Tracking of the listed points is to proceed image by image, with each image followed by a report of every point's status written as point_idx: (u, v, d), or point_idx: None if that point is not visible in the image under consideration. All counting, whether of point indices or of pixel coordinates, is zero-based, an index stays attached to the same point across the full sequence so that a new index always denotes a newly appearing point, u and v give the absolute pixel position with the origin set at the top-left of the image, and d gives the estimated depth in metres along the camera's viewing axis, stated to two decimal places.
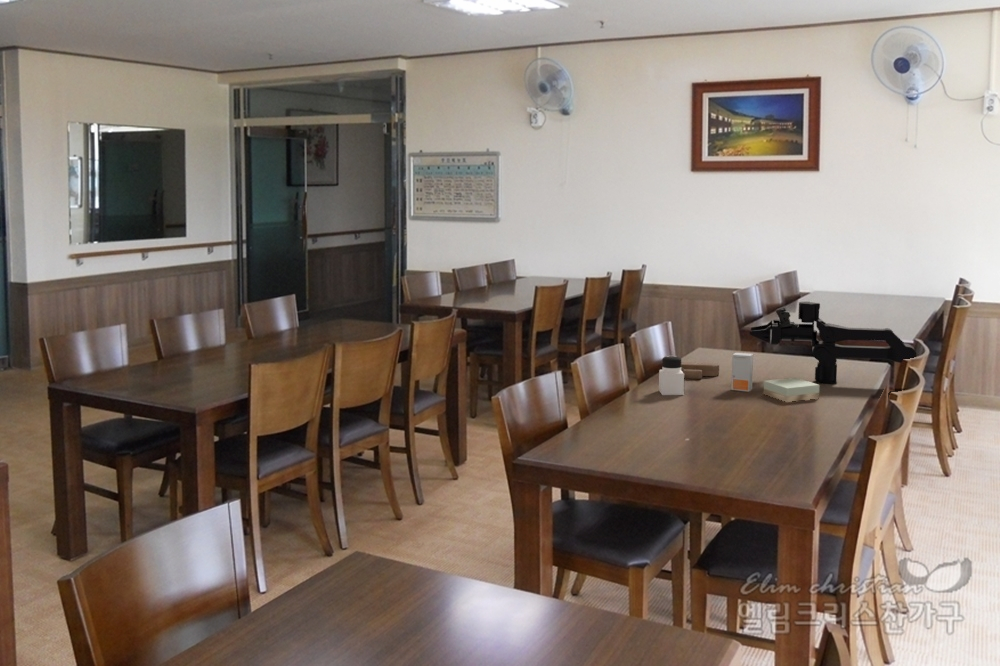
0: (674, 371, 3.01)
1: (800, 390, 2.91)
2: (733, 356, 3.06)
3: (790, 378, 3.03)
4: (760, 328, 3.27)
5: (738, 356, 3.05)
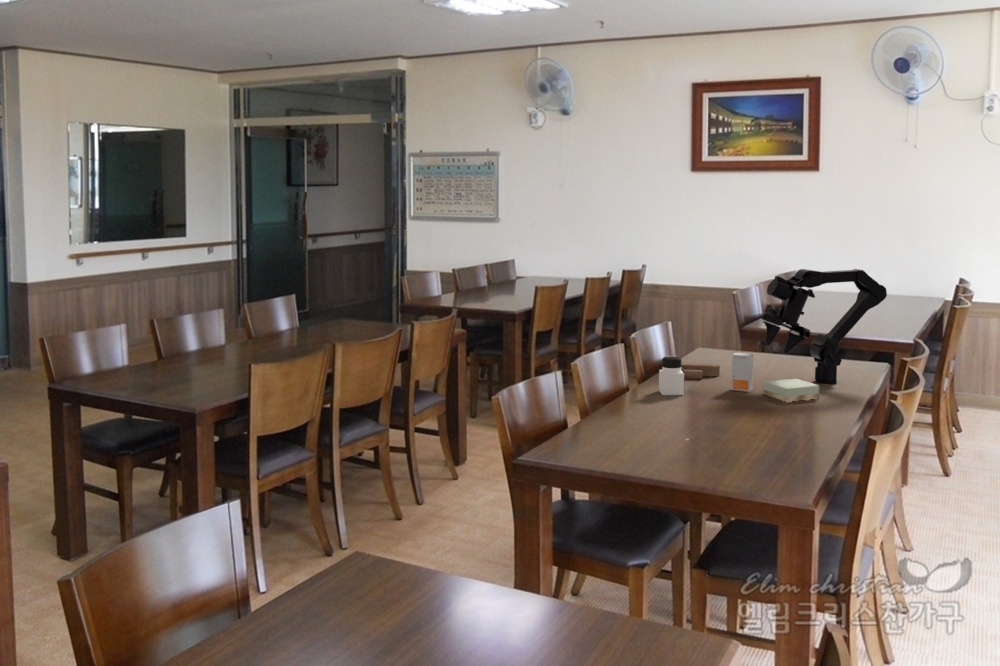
0: (674, 371, 3.01)
1: (799, 390, 2.91)
2: (733, 356, 3.06)
3: (790, 379, 3.03)
4: (788, 343, 3.16)
5: (738, 356, 3.05)
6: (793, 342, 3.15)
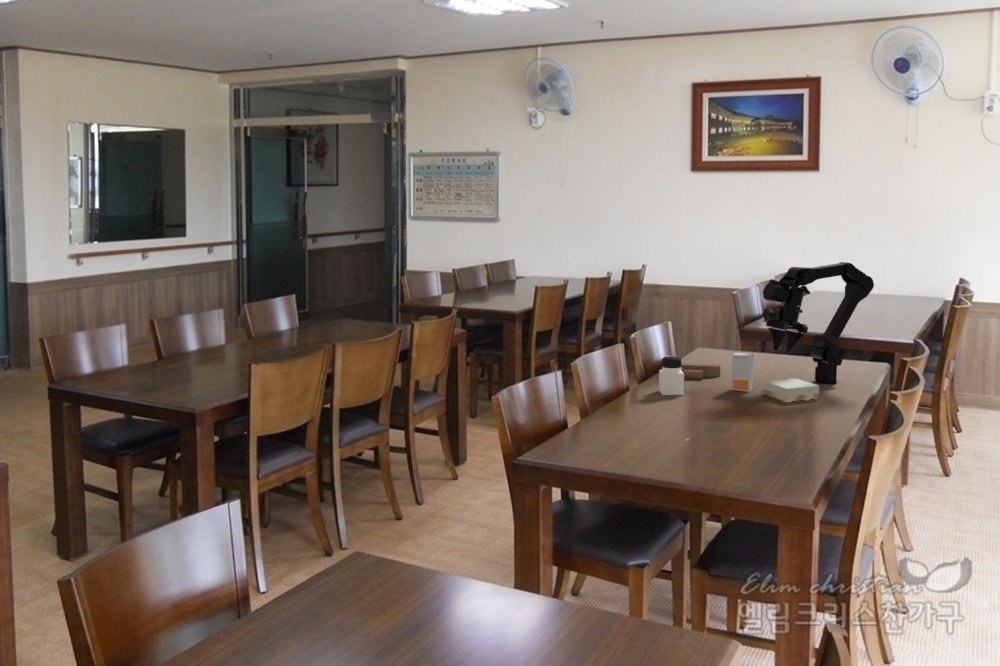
0: (674, 371, 3.01)
1: (799, 390, 2.91)
2: (733, 356, 3.06)
3: (791, 378, 3.03)
4: (789, 342, 3.14)
5: (738, 356, 3.05)
6: (795, 340, 3.13)
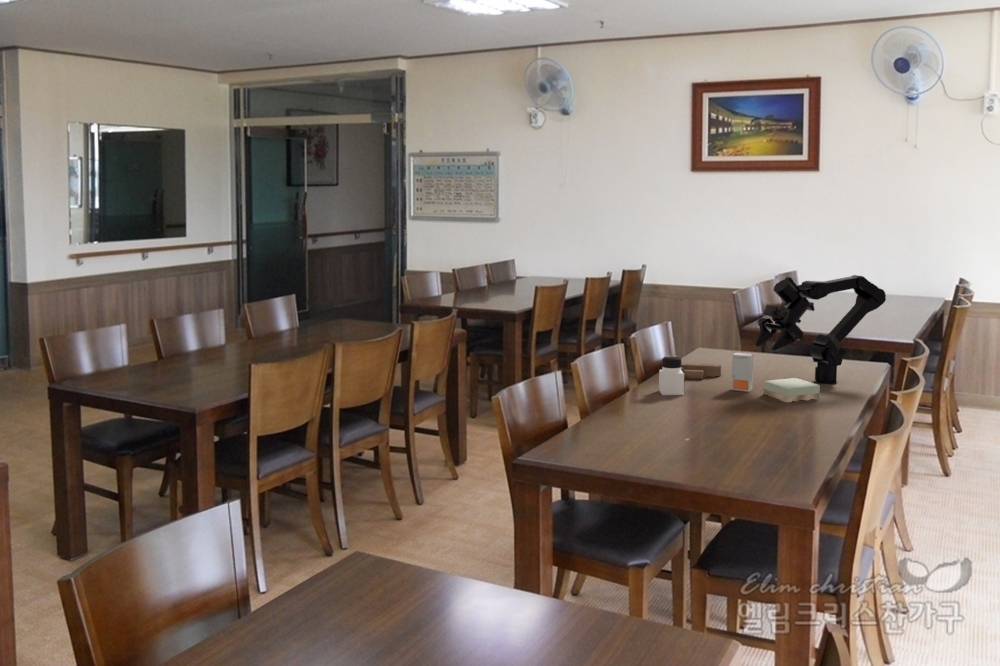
0: (674, 371, 3.01)
1: (800, 390, 2.91)
2: (733, 356, 3.06)
3: (790, 378, 3.03)
4: (761, 338, 3.13)
5: (738, 356, 3.05)
6: (766, 338, 3.14)
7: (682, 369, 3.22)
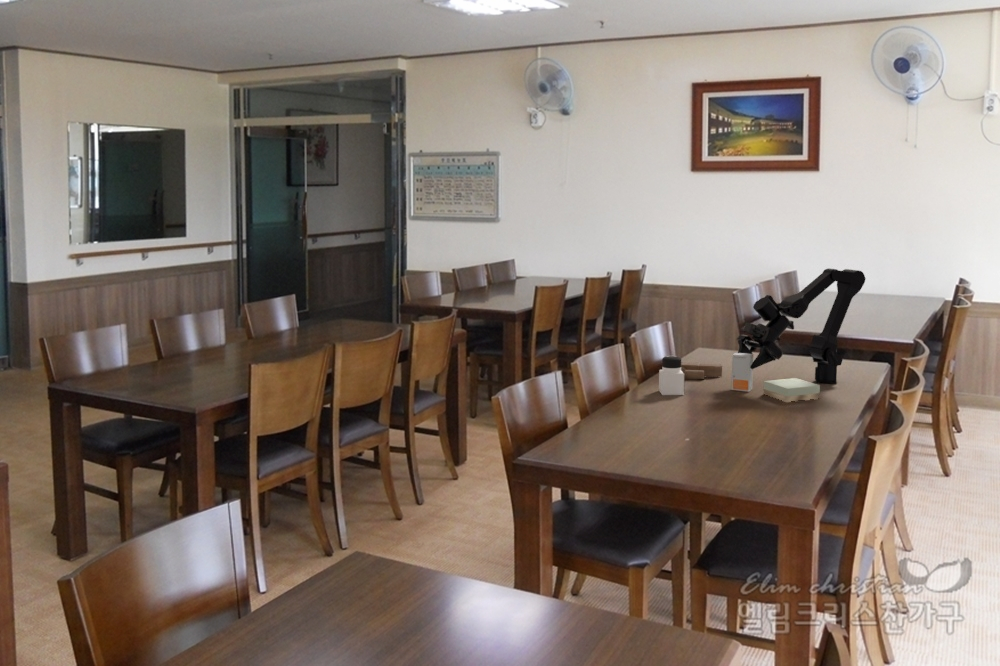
0: (674, 371, 3.01)
1: (800, 390, 2.91)
2: (733, 356, 3.06)
3: (790, 378, 3.03)
4: None
5: (738, 356, 3.05)
6: None
7: (683, 369, 3.22)
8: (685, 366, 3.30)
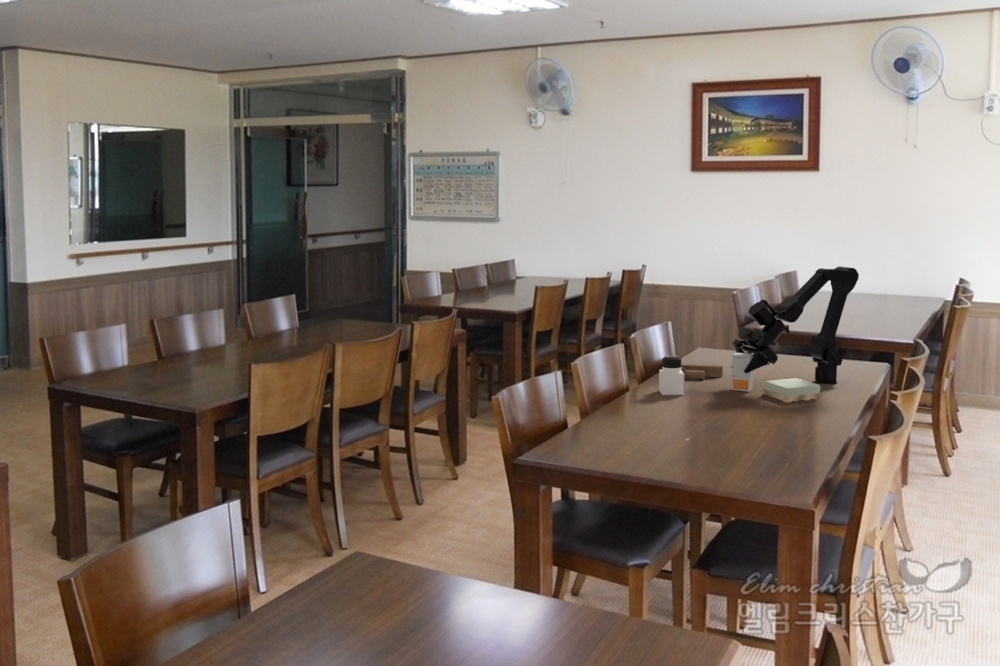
0: (674, 371, 3.01)
1: (800, 390, 2.91)
2: (733, 356, 3.06)
3: (791, 378, 3.03)
4: None
5: (738, 356, 3.05)
6: None
7: (683, 369, 3.22)
8: (686, 366, 3.30)
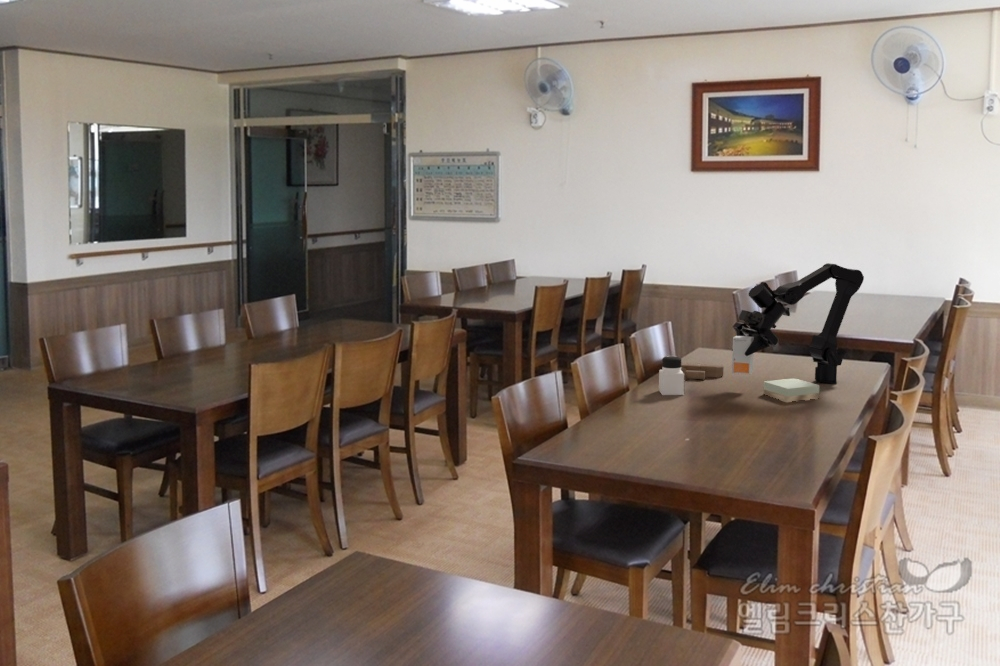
0: (674, 371, 3.01)
1: (800, 390, 2.91)
2: (733, 339, 3.05)
3: (789, 379, 3.04)
4: None
5: (739, 339, 3.04)
6: None
7: (683, 370, 3.22)
8: (686, 367, 3.30)
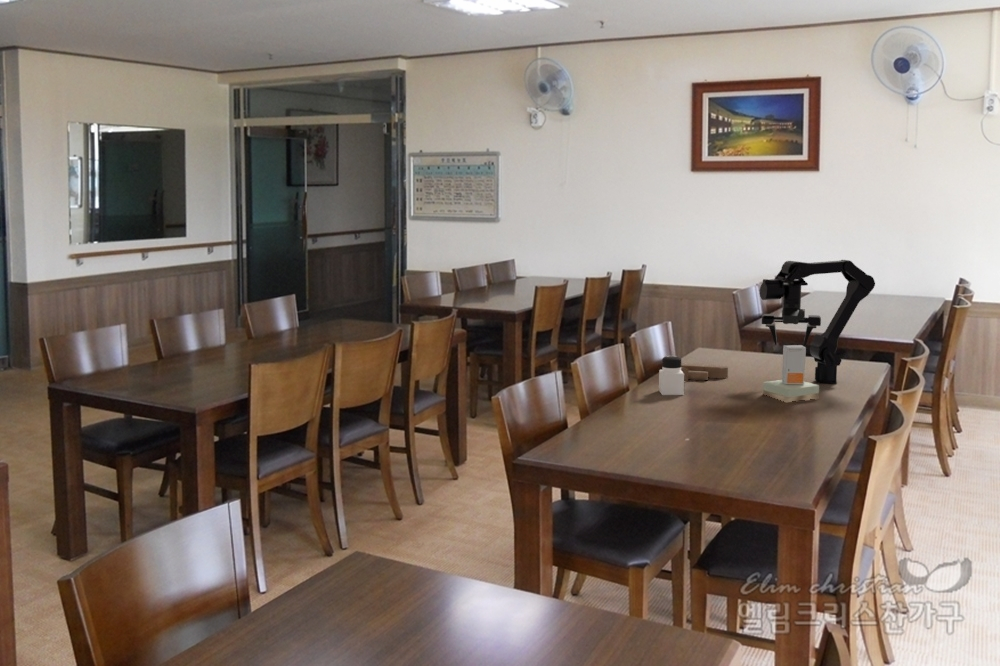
0: (674, 371, 3.01)
1: (800, 391, 2.91)
2: (788, 349, 2.93)
3: None
4: None
5: (793, 348, 2.93)
6: None
7: (685, 370, 3.21)
8: (690, 367, 3.29)
